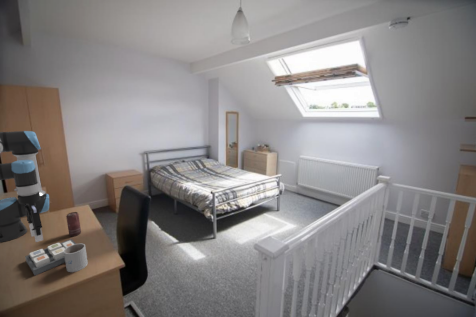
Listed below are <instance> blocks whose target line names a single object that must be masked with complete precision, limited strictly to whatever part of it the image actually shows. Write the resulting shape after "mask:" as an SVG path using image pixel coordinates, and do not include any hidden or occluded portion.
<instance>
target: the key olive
mask: <svg viewBox="0 0 476 317" xmlns="http://www.w3.org/2000/svg"><path fill="white" fill-rule="evenodd" d="M60 243H61V242H56V243H53V244H51V245H48V246H47V248H48V251H49V253H50V254H51V255H52V251H54V250H57V249H59V248H62V245H61V244H60Z"/></svg>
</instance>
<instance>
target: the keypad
mask: <svg viewBox="0 0 476 317" xmlns="http://www.w3.org/2000/svg"><path fill="white" fill-rule="evenodd" d="M59 243H60V244H61V245H62V247H64V248H65V249H66V248H67V247H69V246H71V245H74V244H77V243H76V242H75V241H74V240H73V239H72V238H70V239H68V240H65V241H62V242H59ZM42 249H43V248H42ZM43 250H44V252H45V254H47V255H48V257H49V260H50V263H47V264H45V265H43V266H40V267H38V268H37V267H36V266H35V264H34V262H33V261H32V260H31V258H30V254H28V255H25V257H24V258H25V263H26V264H27V265H28V267H29V269H30V271H31V272H32V274H33V275H34V276H35V277H36V276H38V275H40V274H42V273H44V272H47V271H50V270H51V269H53V268H54V269H55V268H56V267H58V266H60V265H64V264H66V263H65V257H62V258H59V259H57V260H55V259H54V258H53V256H52V255H51V254H50V253H49V251H48V247H45V248H44V249H43Z"/></svg>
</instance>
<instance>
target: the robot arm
mask: <svg viewBox="0 0 476 317" xmlns="http://www.w3.org/2000/svg"><path fill="white" fill-rule="evenodd" d="M39 150H42V148H41V146H40V142H39V139H38V136H37V133H36V132H35V131H32V130H31V131H30V130H20V131H19V130H16V131H0V154H2V153H9V152H11V155H12V156H14V157H16V160H15V161H12V162H8V163H7V162H6V163H0V181H3V180H13V181H14V184H15V188H14V190H13V191H15V192H16V195H17V196H16V197H15V196H12V197H7V198H2V199H0V243H3V242H8V241H12V240H15V239H17V238H20V237H22V236H24V235H25V234H27V232H28V228H27V227H26V225H25V223H24V222H23V221H22V219H21V218H25V217H26V221H27V222H28V226H29V231H30V236H31V237H34V240H35V241H34V242H35V243H38V242H41V241H44V236H43V235H44V234H43V231H42V230H43V229H42V228H43V225H42V221H41V216H40V214H42V213H46V212H48V211H49V209H50V195H49V193H46V192H47V191H45V190H43V189H42V188H43V187H42V183H41V182H42V181H41V178H40V173H39V165H38V161H37V155H38V154H39Z"/></svg>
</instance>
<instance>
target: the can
mask: <svg viewBox="0 0 476 317" xmlns="http://www.w3.org/2000/svg"><path fill="white" fill-rule="evenodd" d="M79 215H80V214H79V213H78V212H77V211H72V212H68V213H67V214H66V216H65V217H66V223H67V229H68V230H67V232H68V236H70V237H76V236H80V234H81V233H82V229H81V222H80V216H79Z"/></svg>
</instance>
